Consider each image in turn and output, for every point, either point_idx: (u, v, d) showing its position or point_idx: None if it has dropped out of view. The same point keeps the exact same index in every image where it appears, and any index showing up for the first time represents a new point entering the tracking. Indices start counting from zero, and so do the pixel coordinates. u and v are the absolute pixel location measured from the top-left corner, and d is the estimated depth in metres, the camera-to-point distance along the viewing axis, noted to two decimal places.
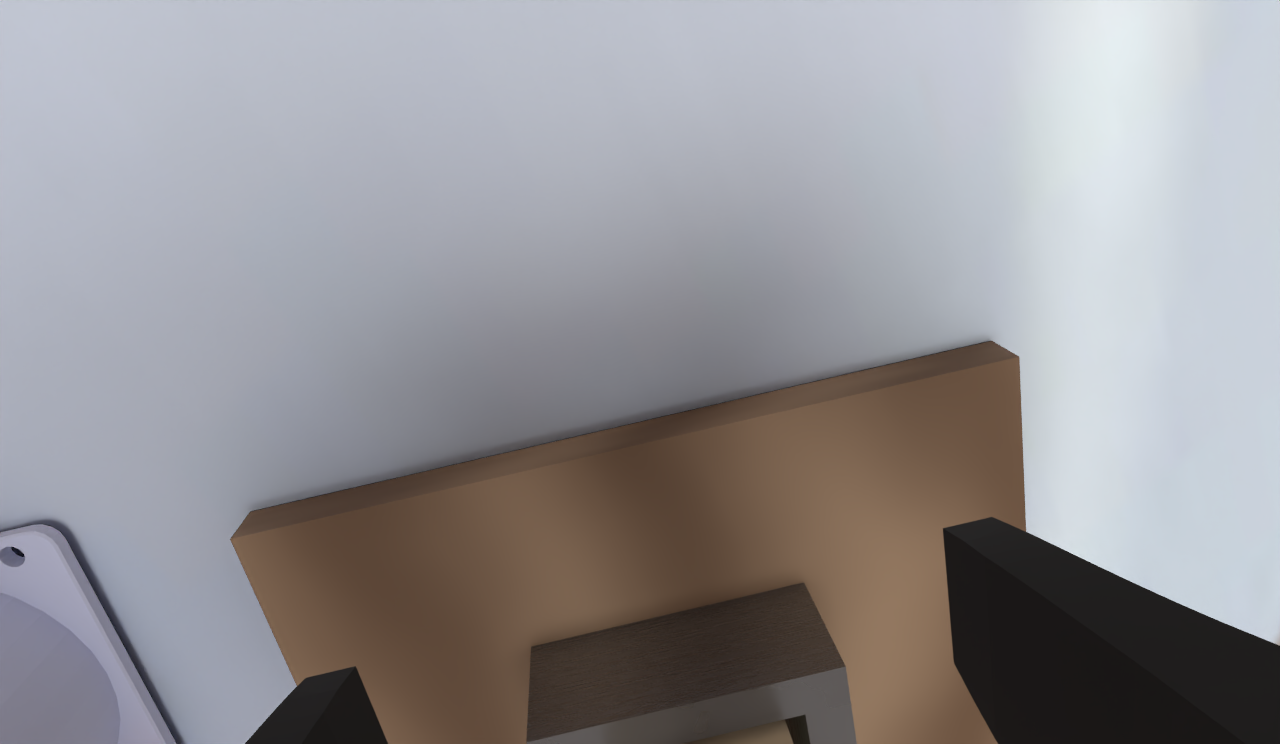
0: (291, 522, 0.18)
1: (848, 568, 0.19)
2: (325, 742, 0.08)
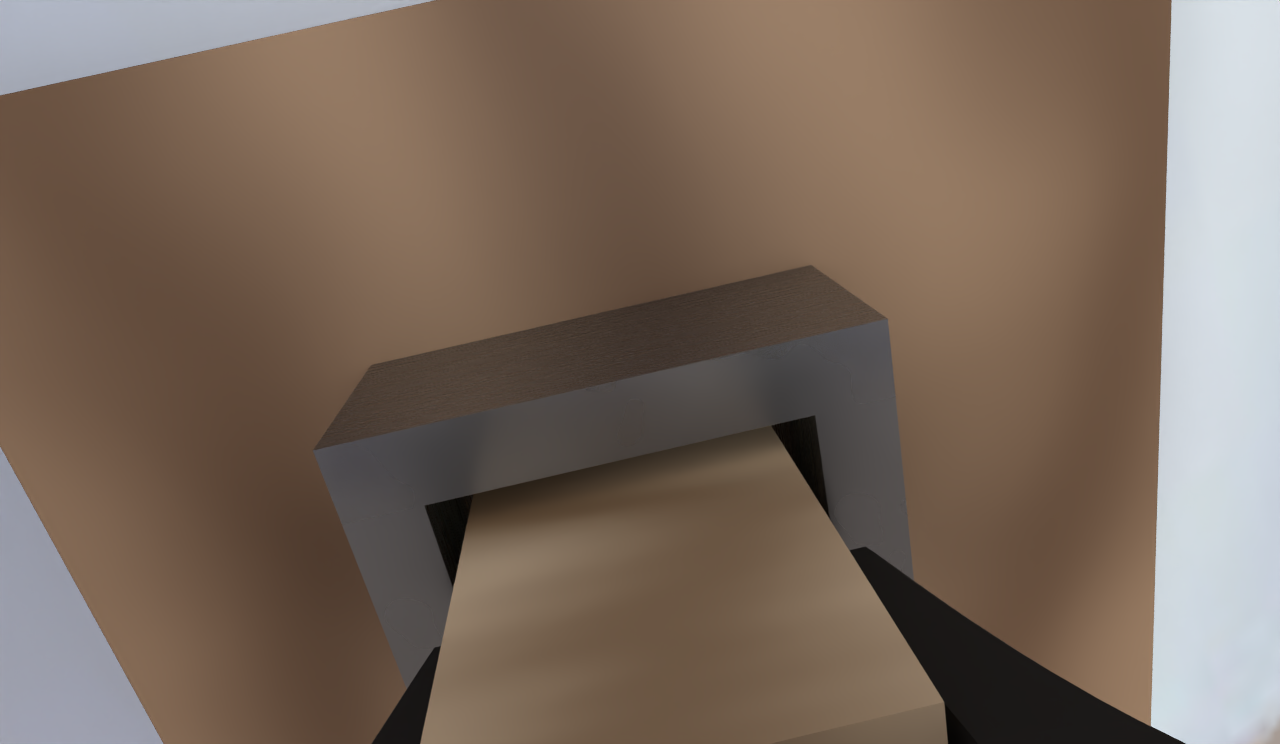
0: None
1: (882, 242, 0.12)
2: None
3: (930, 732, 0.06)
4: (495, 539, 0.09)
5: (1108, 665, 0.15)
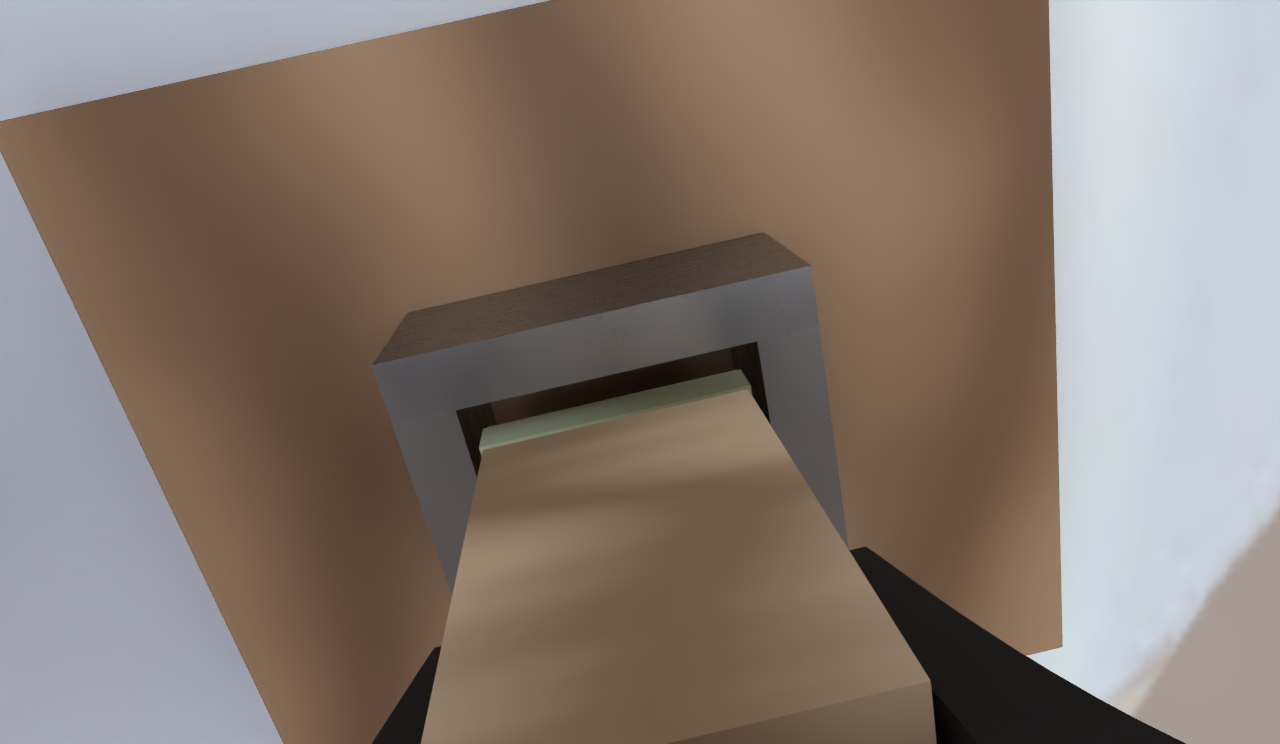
0: (72, 106, 0.13)
1: (821, 213, 0.15)
2: None
3: (917, 710, 0.06)
4: (497, 529, 0.09)
5: (1023, 576, 0.18)
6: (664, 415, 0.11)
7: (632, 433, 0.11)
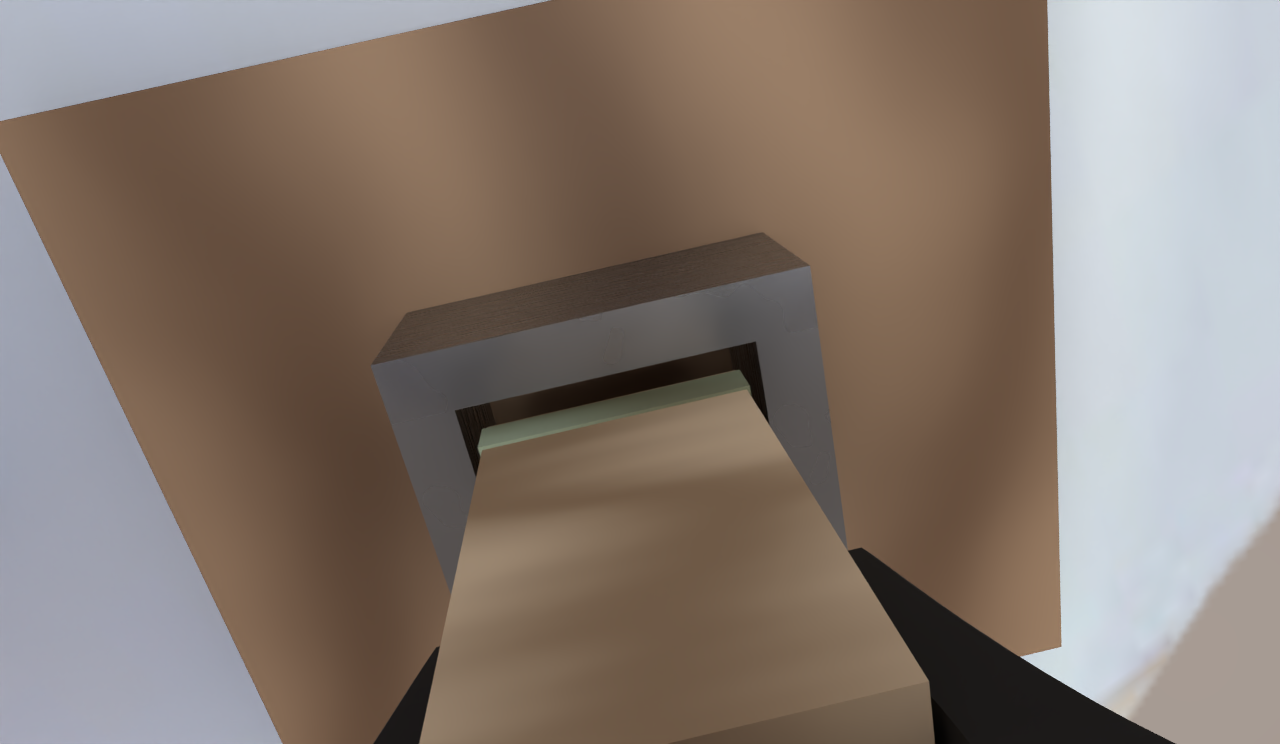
0: (70, 106, 0.13)
1: (820, 213, 0.15)
2: None
3: (916, 710, 0.06)
4: (496, 530, 0.09)
5: (1022, 576, 0.18)
6: (663, 415, 0.11)
7: (631, 433, 0.11)
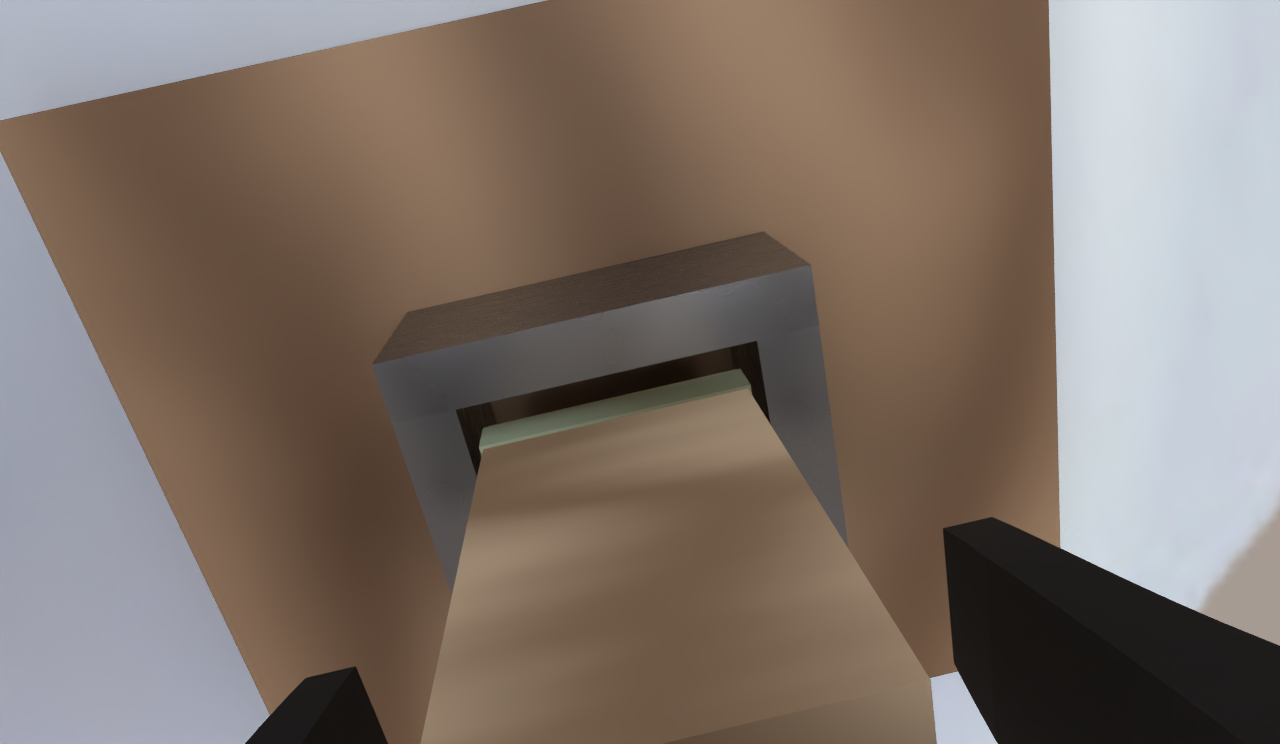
0: (72, 105, 0.13)
1: (821, 213, 0.15)
2: (325, 742, 0.08)
3: (917, 709, 0.06)
4: (497, 529, 0.09)
5: None
6: (664, 414, 0.11)
7: (632, 432, 0.11)
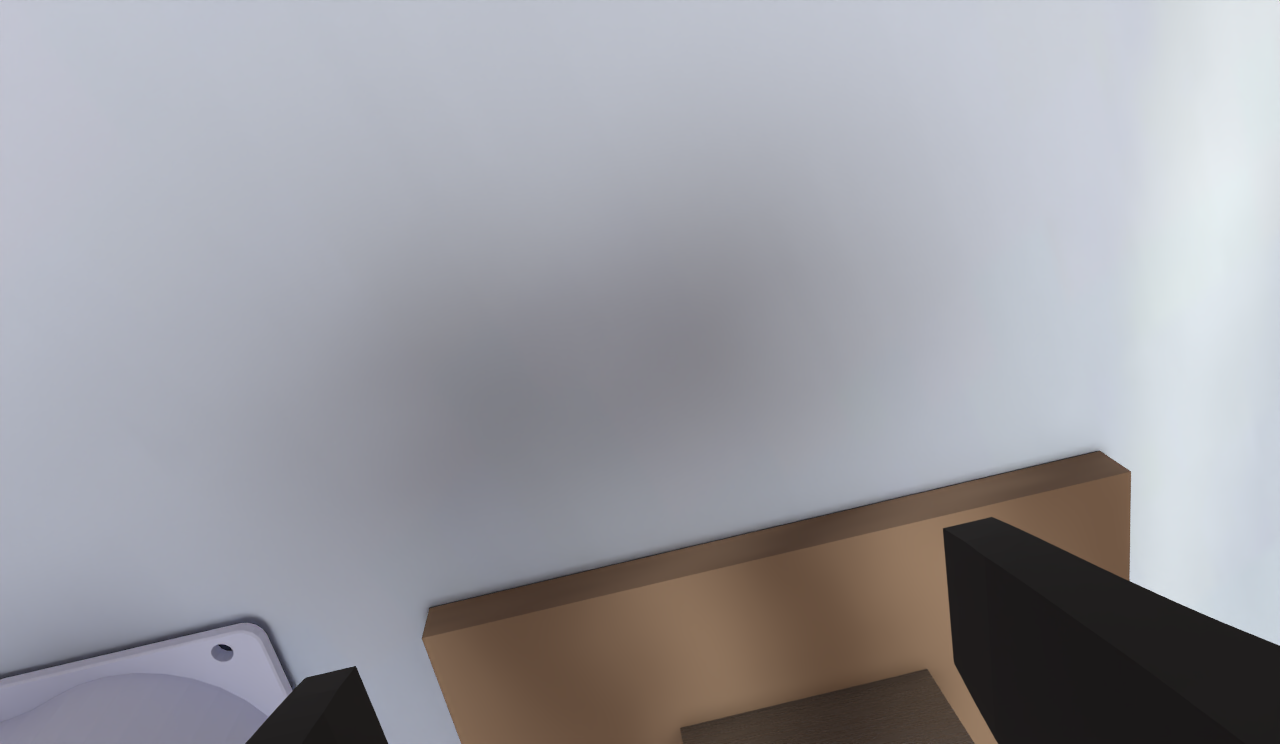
0: (475, 622, 0.20)
1: None
2: (325, 742, 0.08)
3: None
4: None
5: None
6: None
7: None
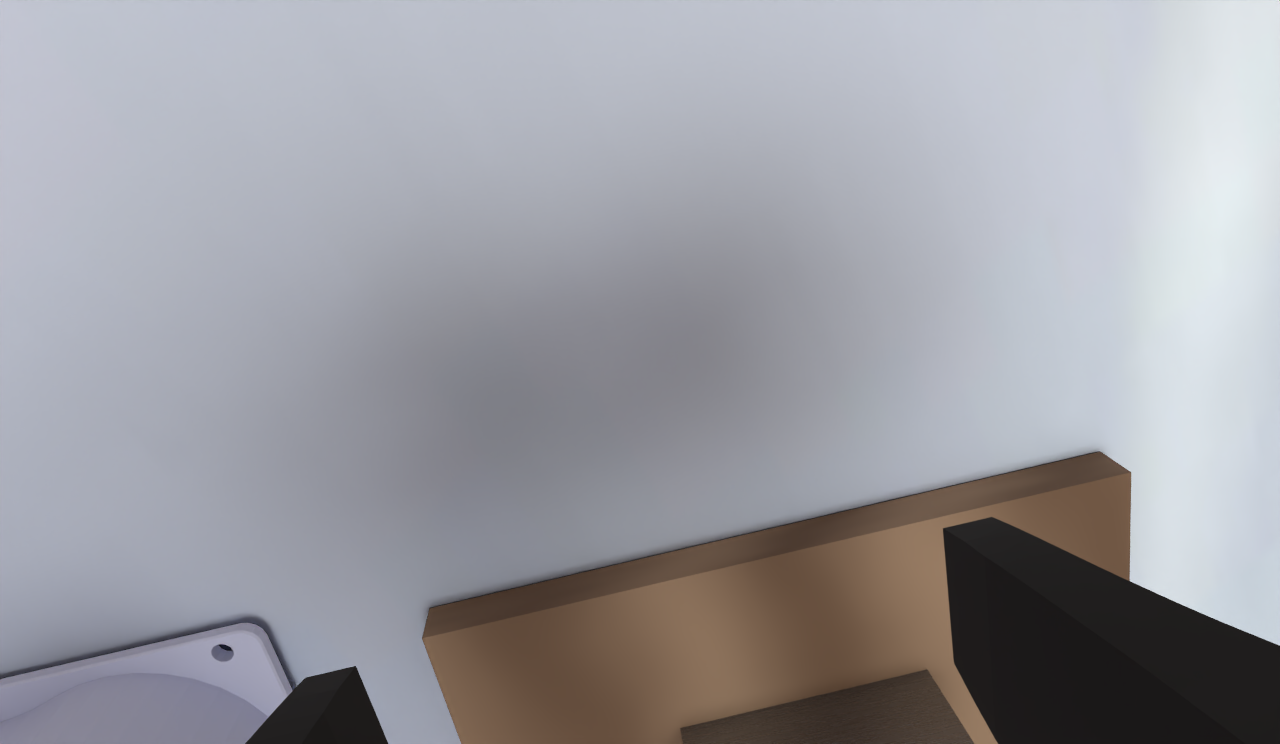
0: (475, 622, 0.20)
1: None
2: (325, 742, 0.08)
3: None
4: None
5: None
6: None
7: None
